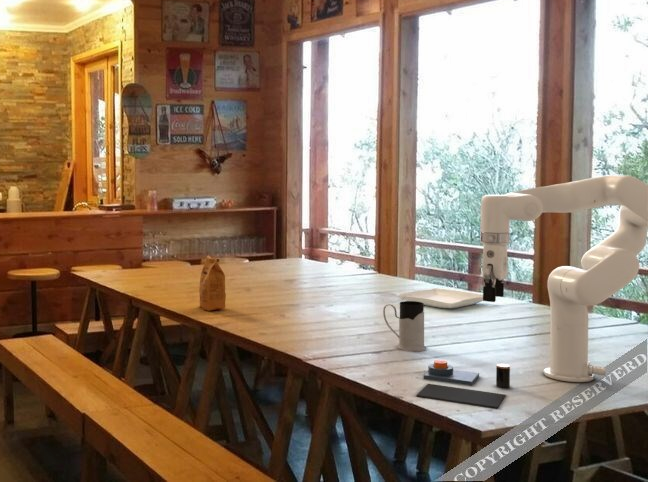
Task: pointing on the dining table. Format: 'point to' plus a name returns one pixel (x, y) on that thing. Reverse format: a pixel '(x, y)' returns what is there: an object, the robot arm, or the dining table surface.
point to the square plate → (442, 298)
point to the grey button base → (451, 375)
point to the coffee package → (212, 285)
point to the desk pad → (461, 395)
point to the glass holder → (410, 325)
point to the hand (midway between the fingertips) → (493, 298)
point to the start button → (440, 364)
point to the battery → (503, 376)
